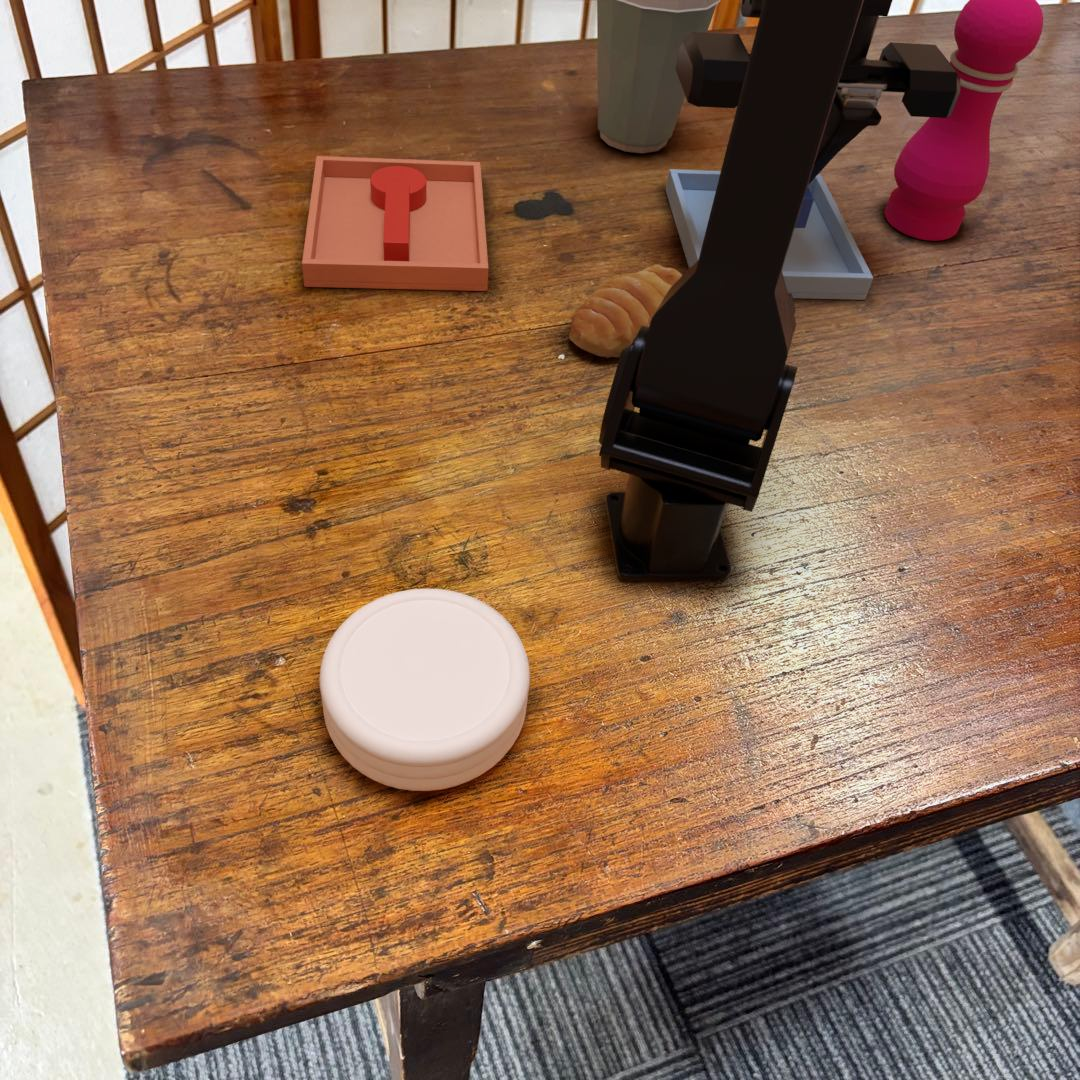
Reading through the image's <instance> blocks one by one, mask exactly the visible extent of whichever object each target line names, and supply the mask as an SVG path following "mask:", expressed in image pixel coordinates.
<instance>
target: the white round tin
mask: <svg viewBox="0 0 1080 1080" xmlns="http://www.w3.org/2000/svg"><path fill="white" fill-rule="evenodd" d="M319 667H320V668H319V677H318V679H319V691H320V692H319V693H320V695H321V705H322V710H323V719H324V723H325V727H326V729H327V733H328V734H329V737H330V739H331V741H332V743H333V744H334V746H335V748H336V749H337V750H338V752H339V753H340V754H341V756H342V757H343V758H344V759H345V761H347V762H348V763H349V764H350V765H351V767H353V768H354V769H355V770H357V771H358V772H359V773H361V774H362V775H363V776H365V777H367V778H369V779H371V780H372V781H374V782H377V783H379V784H382V785H384V786H387V787H390V788H395V789H397V790H403V791H405V790H406V791H410V792H411V791H412V792H431V791H439V790H440V791H441V790H445V789H449V788H454V787H457V786H460V785H462V784H465V783H469V782H470V781H472V780H474V779H476V778H478V777H481V776H482V775H483V774H485V773H486V772H488V771H489V770H490V769H491V770H492V768H493V767H494V766H496V765H497V764H498V763H499V762H501V760H502V759H503V758H504V757H505V756H506V755H507V754H508V752H509V751H510V749H511V748H512V747H513V745H514V744H515V742H516V741H517V739H518V737H519V736H520V734H521V732H522V728H523V726H524V723H525V719H526V716H527V705H528V701H529V691H530V683H531V669H530V662H529V658H528V654H527V652H526V649H525V646H524V644H523V642H522V640H521V638H520V636H519V634H518V633H517V631H516V630H515V628H514V627H513V626H512V624H511V623H510V622H509V621H508V620H507V619H506V618H505V616H504V615H502V614H501V613H500V612H499V611H497V610H496V609H495V608H493V607H491V605H489V604H488V603H486V602H484V601H482V600H480V599H478V598H476V597H474V596H470V595H468V594H465V593H462V592H459V591H455V590H449V589H443V588H427V587H426V588H425V587H423V588H412V589H405V590H400V591H396V592H393V593H389V594H386V595H384V596H381V597H378V598H376V599H374V600H372V601H369V602H368V603H366V604H365V605H362V606H361V607H360V608H358V609H357V610H356V611H354V612H353V613H352V614H351V615H349V616H348V617H347V618H346V619H345V620H344V621H343V622H342V623H341V624H340V625H339V627H337V629H336V630H335V631H334V633H333V635H332V636H331V638H330V640H329V641H328V644H327V646H326V648H325V650H324V653H323V655H322V659H321V662H320V666H319Z"/></svg>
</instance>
